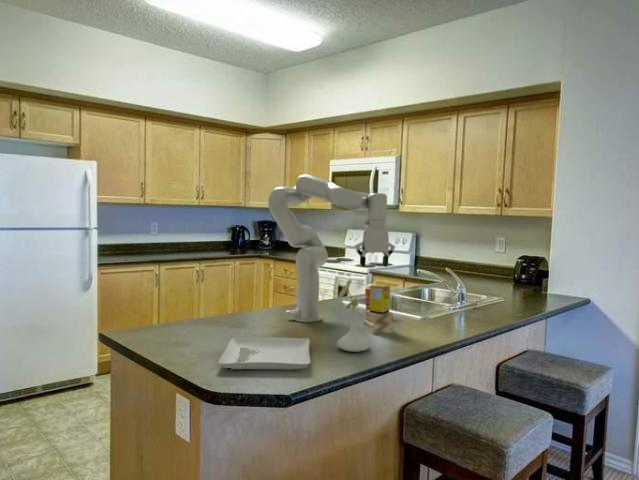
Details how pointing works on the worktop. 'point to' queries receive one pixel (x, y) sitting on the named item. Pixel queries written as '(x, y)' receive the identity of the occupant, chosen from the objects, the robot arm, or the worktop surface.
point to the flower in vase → (352, 328)
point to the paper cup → (368, 296)
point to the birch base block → (377, 327)
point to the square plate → (268, 353)
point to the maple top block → (379, 318)
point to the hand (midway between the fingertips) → (373, 266)
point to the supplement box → (379, 298)
